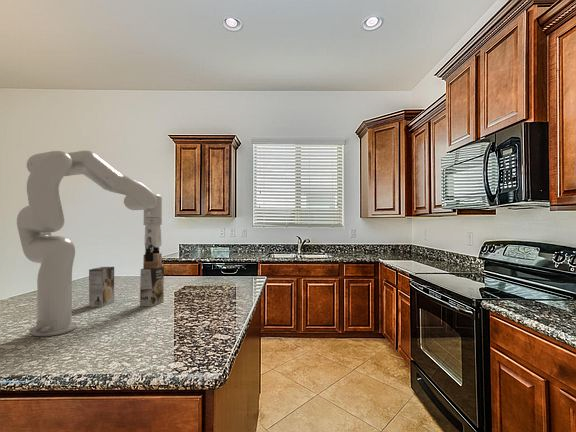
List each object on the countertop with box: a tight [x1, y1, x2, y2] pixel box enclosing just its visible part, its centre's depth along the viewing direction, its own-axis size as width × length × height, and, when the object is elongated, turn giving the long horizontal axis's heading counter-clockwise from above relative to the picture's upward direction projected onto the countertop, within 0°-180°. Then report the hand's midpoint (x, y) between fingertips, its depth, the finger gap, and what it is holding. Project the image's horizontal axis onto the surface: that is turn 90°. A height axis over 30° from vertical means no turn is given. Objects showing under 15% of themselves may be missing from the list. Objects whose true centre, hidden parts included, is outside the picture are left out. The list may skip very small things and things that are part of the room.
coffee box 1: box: [88, 266, 115, 308], centre depth 148 cm, size 9×6×16 cm
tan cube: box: [142, 252, 162, 269], centre depth 148 cm, size 6×6×6 cm
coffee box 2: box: [139, 266, 165, 308], centre depth 148 cm, size 9×6×16 cm
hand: (152, 260), depth 148 cm, fingers open, 9 cm apart
